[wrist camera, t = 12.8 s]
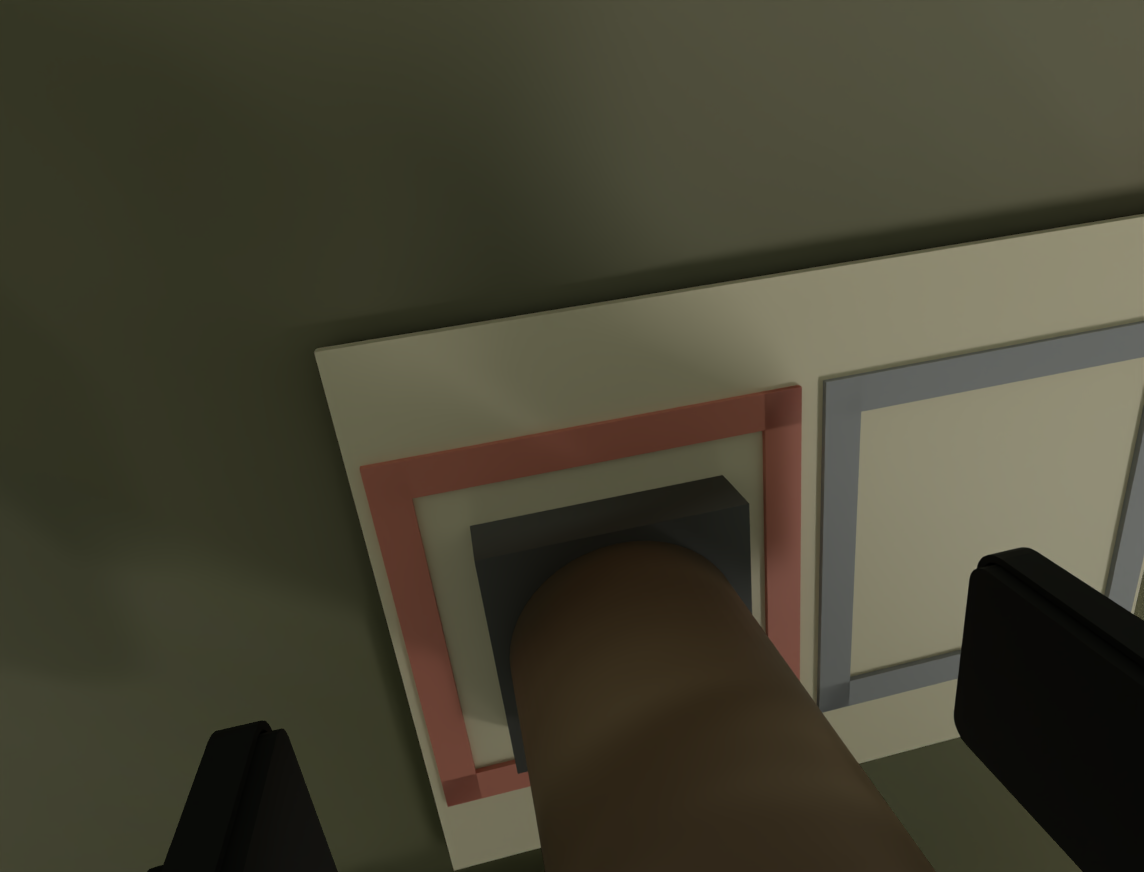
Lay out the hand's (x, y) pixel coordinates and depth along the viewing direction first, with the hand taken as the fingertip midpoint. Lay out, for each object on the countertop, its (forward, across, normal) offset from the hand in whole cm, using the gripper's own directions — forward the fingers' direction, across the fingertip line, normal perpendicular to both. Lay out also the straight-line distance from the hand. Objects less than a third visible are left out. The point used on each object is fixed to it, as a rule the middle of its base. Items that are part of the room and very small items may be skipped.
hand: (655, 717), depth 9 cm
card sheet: (+3, -4, 0) cm, 4 cm away
